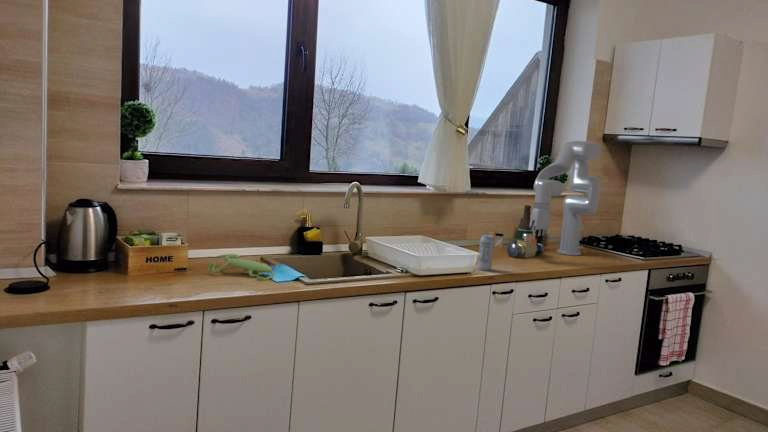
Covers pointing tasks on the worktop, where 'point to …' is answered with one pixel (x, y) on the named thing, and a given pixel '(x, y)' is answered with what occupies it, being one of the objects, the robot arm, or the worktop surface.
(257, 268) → the figurine
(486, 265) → the energy drink can
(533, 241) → the lever
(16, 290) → the worktop surface
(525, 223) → the beer bottle
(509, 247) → the valve
